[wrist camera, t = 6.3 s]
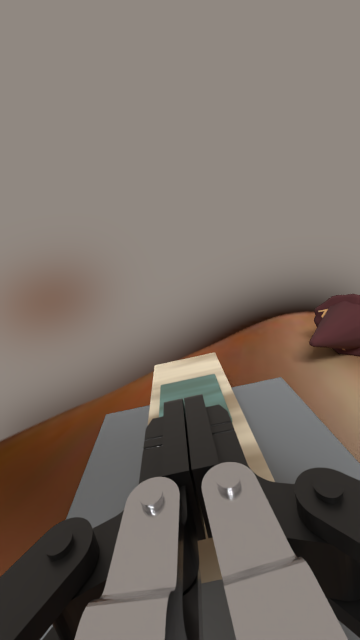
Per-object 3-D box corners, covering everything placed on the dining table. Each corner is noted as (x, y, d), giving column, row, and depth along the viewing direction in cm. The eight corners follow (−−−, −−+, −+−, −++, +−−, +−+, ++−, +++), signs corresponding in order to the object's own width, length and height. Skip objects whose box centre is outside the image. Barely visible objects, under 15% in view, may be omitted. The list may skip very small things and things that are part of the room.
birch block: (279, 486, 11) (214, 349, 26) (134, 517, 11) (153, 362, 27) (291, 564, 12) (221, 388, 28) (158, 592, 12) (163, 401, 28)
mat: (923, 1114, 4) (940, 1103, 4) (-220, 1322, 4) (-242, 1322, 4) (281, 382, 27) (281, 377, 27) (107, 419, 28) (106, 414, 27)
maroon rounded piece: (364, 322, 21) (425, 290, 30) (283, 297, 27) (353, 276, 35) (343, 393, 24) (403, 346, 32) (273, 358, 30) (340, 325, 38)
